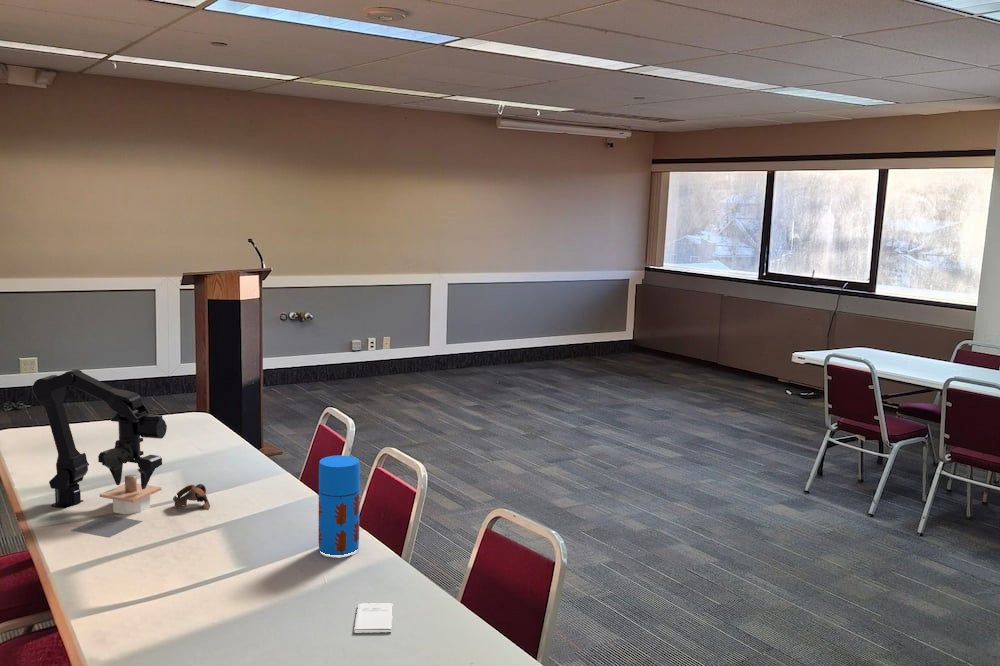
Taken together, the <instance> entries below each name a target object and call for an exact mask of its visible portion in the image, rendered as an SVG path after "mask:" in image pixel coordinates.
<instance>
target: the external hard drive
mask: <svg viewBox="0 0 1000 666" xmlns="http://www.w3.org/2000/svg"><path fill="white" fill-rule="evenodd" d="M392 606H393V607H394V603H391V602H384V603H383V602H381V603H380V602H379V603H375V602H373V603H371V602H365V603H358V604H357V607H358V609H357V608H356V609H357V610H356V613H357V614H355V621H354V626H355V627H353V631H354V630H391V629H392V630H393V627H392V626H393V616H392Z"/></svg>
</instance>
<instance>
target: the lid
mask: <svg viewBox="0 0 1000 666" xmlns="http://www.w3.org/2000/svg"><path fill="white" fill-rule="evenodd" d="M137 479H138V478H137V475H136V474H127V475H125V476H124V484H120V485H118V486H117V487H114V488H112V489H109V490H107V491H104V492H102V493H100V494H99V498H102V499H103V498H104V499H110V500H111V499H112V500H113V499H115V500H121V501H127V502H132V503H133V502H136V501H138V500H140V499H142V498H145V497H147V496H149V495H150V496H151V495H154V494H156V493H158V492H161V491H162V487H160V486H155V485H149V484H147V486H146V488H145V489H142V487H141V483H137Z"/></svg>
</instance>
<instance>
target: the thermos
mask: <svg viewBox="0 0 1000 666" xmlns="http://www.w3.org/2000/svg"><path fill="white" fill-rule="evenodd" d="M360 479H361V467H360V459H359V458H357V457H355V456H352V455H331V456H330V455H329V456H326V457H323V458H321V459H320V460H319V464H318V551H319V550H320V551H321V552H323V553H325V554H330V555H344V554H348V553H351V552H354V551H355V550H357V549H358V550H359V548H360V547H359V546H360V545H359V544H360V500H361V499H360V495H361V494H360V493H361V490H360V489H361V487H360V485H361V482H360V481H361V480H360Z"/></svg>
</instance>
